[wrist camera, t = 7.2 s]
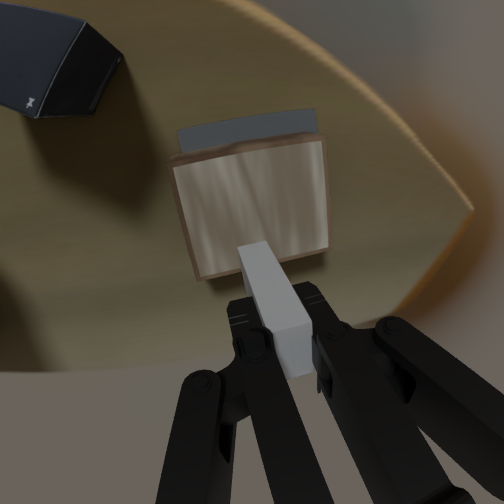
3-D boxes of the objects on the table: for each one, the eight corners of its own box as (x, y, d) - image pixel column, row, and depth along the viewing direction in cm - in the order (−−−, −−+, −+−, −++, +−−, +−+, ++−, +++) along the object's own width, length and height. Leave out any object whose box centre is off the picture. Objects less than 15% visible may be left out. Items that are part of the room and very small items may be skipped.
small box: (128, 51, 19) (92, 16, 10) (92, 118, 21) (37, 126, 12) (40, 22, 15) (-21, -5, 6) (9, 85, 17) (-62, 86, 8)
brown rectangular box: (197, 282, 25) (332, 250, 26) (166, 163, 20) (325, 135, 21) (195, 259, 28) (315, 232, 30) (169, 156, 24) (306, 131, 25)
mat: (210, 273, 30) (210, 274, 29) (177, 130, 23) (177, 130, 23) (324, 246, 31) (325, 247, 31) (313, 108, 24) (314, 108, 24)
